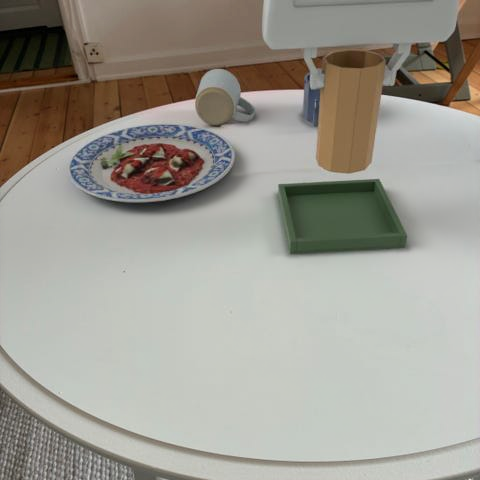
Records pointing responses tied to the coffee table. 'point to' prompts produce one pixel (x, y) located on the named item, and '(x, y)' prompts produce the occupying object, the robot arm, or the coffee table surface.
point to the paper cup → (349, 109)
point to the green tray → (339, 217)
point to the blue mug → (311, 102)
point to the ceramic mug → (221, 99)
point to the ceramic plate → (151, 163)
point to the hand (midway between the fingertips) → (350, 85)
